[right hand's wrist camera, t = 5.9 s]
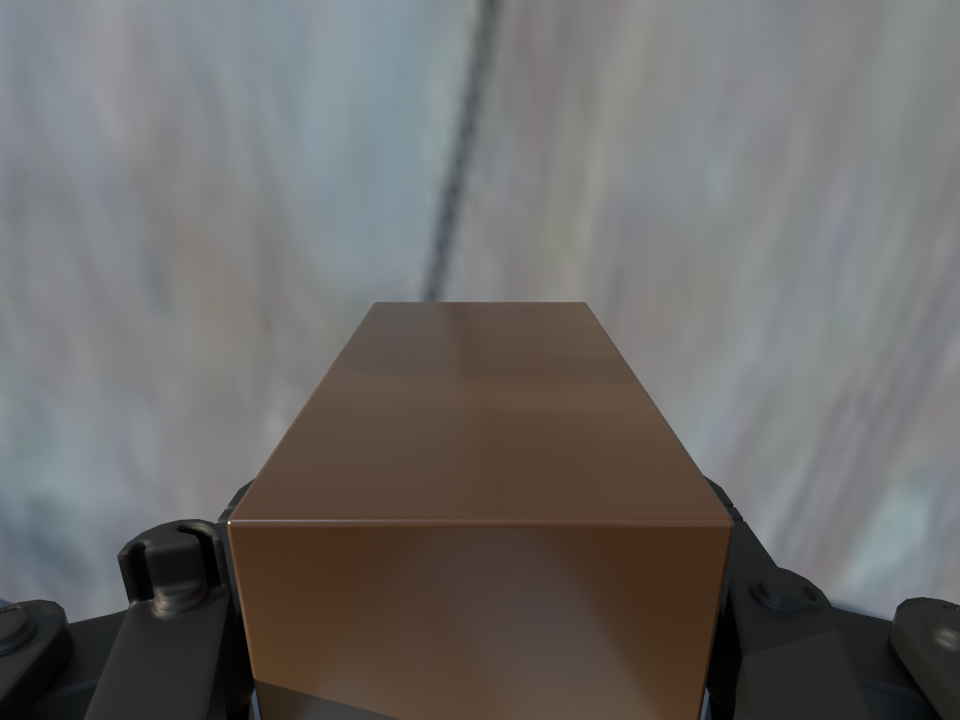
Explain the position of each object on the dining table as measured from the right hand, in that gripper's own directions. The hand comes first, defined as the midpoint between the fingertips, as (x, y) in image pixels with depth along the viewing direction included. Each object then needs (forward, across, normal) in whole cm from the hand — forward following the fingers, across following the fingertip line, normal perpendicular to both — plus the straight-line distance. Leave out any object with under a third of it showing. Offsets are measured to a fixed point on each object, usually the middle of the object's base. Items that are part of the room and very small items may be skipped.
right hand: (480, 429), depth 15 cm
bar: (+1, 0, -9) cm, 9 cm away
